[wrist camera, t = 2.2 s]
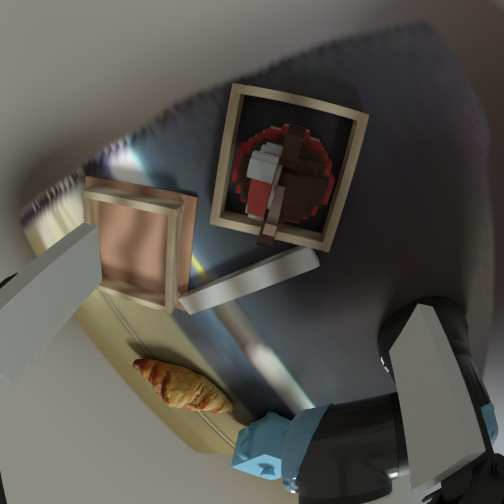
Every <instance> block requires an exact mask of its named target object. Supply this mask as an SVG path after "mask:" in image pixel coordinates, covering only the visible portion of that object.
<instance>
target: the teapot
mask: <svg viewBox="0 0 504 504" xmlns="http://www.w3.org/2000/svg"><path fill="white" fill-rule="evenodd" d="M291 422H292V421H291V420H288V419H286V418H284V417H281V416H279V415H278V414H277V413H276V412H267V413H266V416H265V417H263V418H261V419H259V420H258V421H256V422H250V423H249V426H247V427H246V428H244V429H242V430H240V431H239V433H238V438H237V442H236V446H235V451H234V455H233V459H232V464H231V467H232V468H235V469H238V470H241V471H244V472H247V473H250V474H253V475H256V476H260V477H263V478H266V479H270V480H274V479H277V478H280V477H281V460H282V451H283V446H284V441H285V437H286V434H287V431H288V428H289V426H290V424H291Z"/></svg>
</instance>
